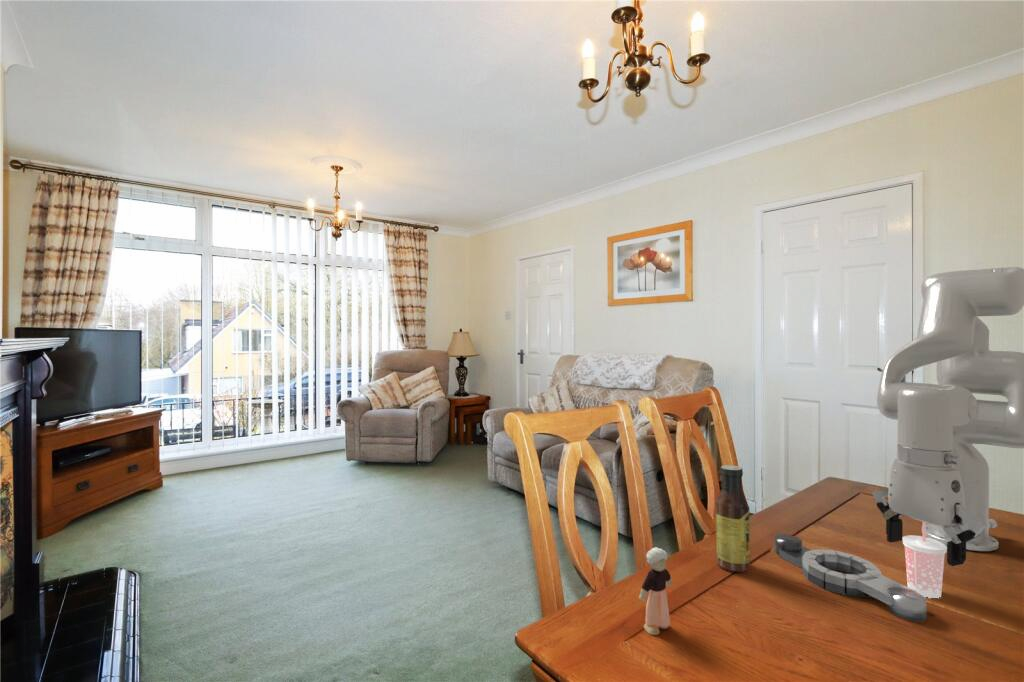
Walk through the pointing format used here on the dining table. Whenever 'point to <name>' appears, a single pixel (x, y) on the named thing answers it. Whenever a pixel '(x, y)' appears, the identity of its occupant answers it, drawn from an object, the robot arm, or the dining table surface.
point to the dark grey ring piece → (794, 552)
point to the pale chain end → (868, 583)
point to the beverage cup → (924, 564)
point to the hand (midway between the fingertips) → (923, 552)
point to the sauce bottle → (732, 522)
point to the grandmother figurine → (656, 592)
